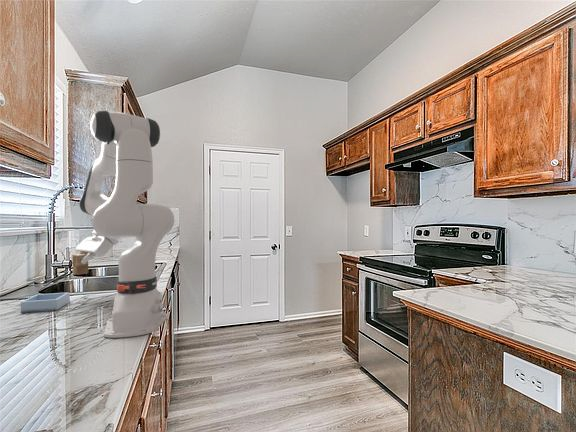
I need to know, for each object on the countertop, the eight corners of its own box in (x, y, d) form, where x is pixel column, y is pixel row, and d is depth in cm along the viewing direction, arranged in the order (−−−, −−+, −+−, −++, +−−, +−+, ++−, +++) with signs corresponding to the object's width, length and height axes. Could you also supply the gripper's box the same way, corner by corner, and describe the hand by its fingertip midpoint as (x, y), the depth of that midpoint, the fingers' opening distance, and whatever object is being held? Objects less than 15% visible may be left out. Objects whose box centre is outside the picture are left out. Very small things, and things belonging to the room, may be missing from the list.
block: (88, 273, 133) (87, 254, 132) (77, 274, 129) (76, 255, 129) (83, 271, 135) (83, 253, 135) (72, 273, 132) (72, 254, 132)
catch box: (57, 310, 123) (56, 299, 123) (20, 313, 120) (20, 302, 120) (69, 302, 134) (69, 292, 134) (36, 304, 131) (36, 294, 131)
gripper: (86, 230, 144) (61, 255, 136) (109, 232, 132) (82, 259, 124) (97, 240, 147) (74, 265, 140) (120, 242, 135) (95, 269, 128)
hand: (78, 262), depth 132 cm, fingers closed on block, 4 cm apart
